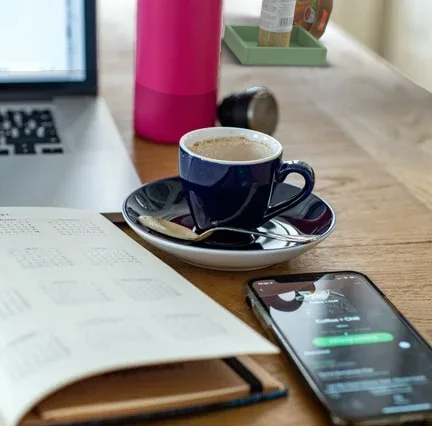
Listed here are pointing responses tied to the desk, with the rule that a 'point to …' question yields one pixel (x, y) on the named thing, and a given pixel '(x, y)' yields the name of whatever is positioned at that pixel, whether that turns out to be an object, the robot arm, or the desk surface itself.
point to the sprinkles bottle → (276, 23)
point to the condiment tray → (293, 55)
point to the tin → (313, 15)
